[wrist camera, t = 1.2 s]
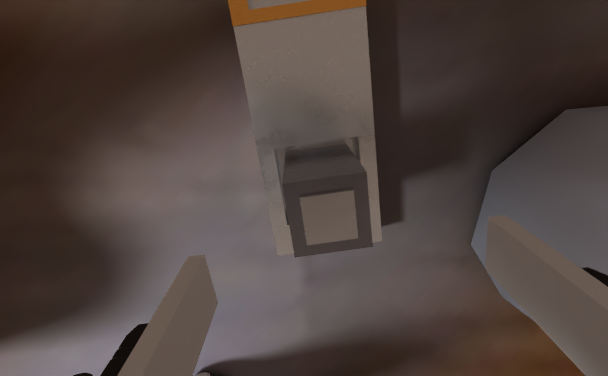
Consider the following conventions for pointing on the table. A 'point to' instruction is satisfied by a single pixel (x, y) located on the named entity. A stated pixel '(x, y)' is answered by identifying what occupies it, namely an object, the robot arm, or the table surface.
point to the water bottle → (203, 374)
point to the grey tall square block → (326, 200)
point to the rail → (306, 89)
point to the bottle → (556, 190)
